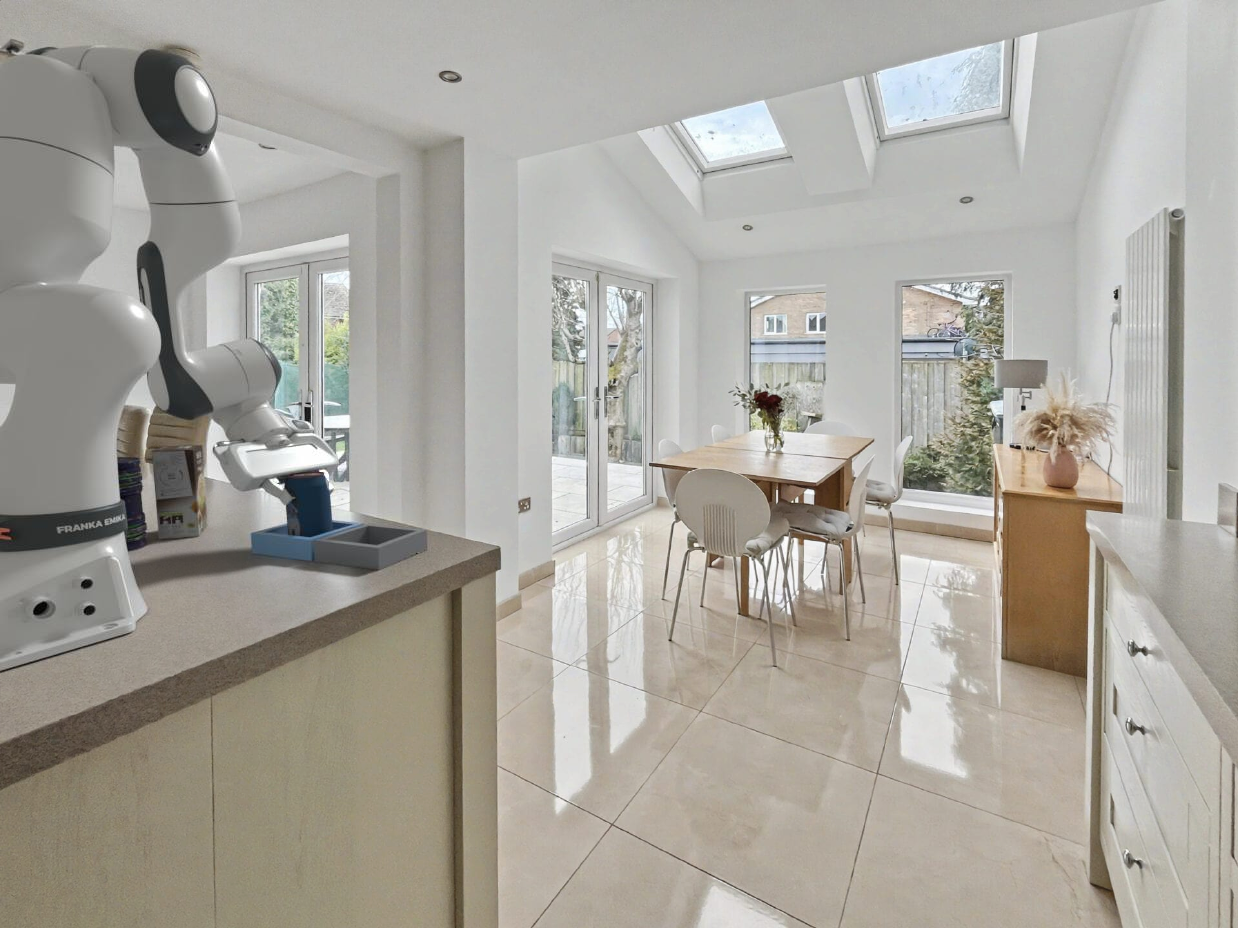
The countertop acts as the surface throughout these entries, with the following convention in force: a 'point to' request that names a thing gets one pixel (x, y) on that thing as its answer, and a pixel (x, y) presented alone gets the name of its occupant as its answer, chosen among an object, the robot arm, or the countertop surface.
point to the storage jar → (132, 501)
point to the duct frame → (343, 544)
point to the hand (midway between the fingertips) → (310, 497)
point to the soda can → (309, 504)
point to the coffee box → (180, 491)
